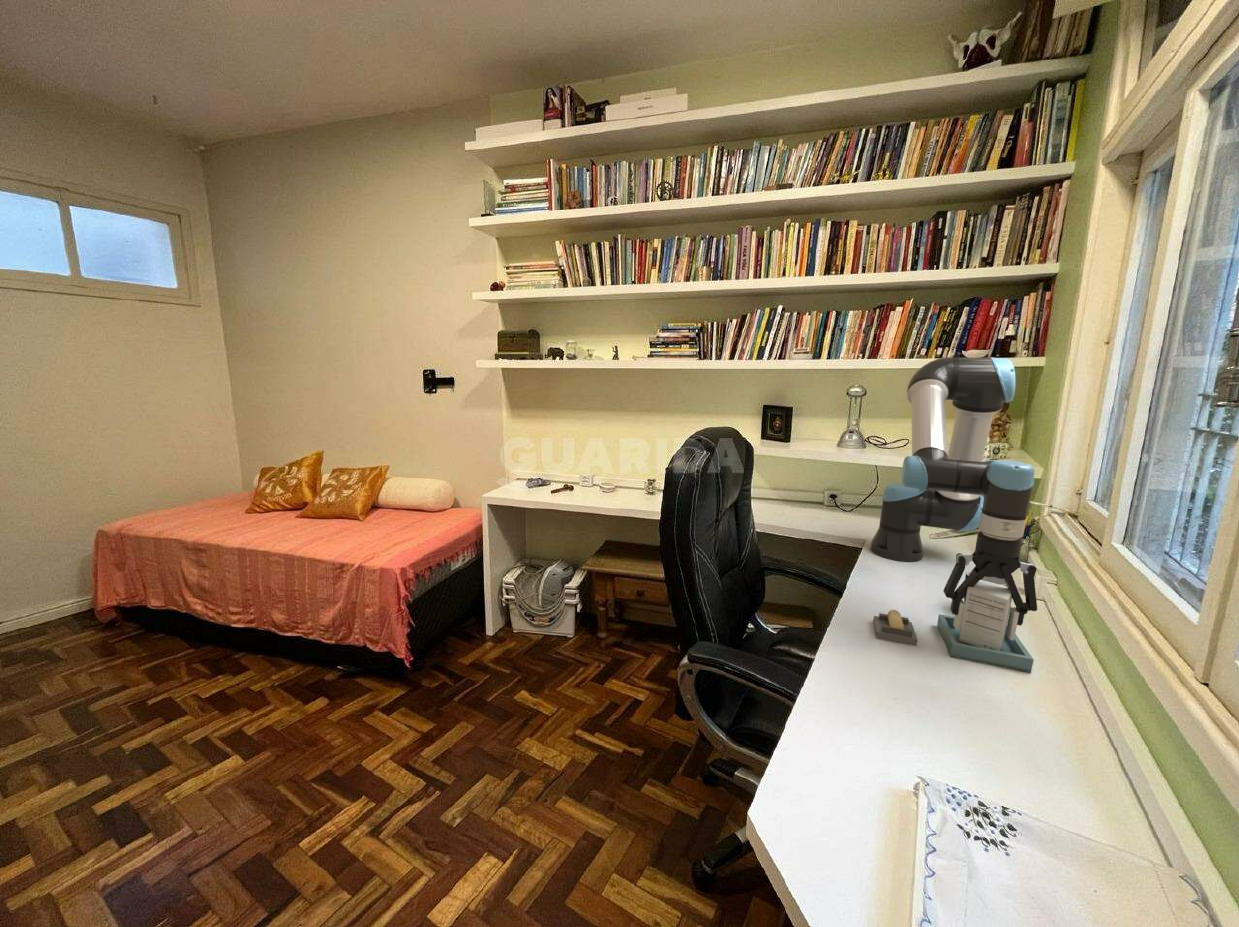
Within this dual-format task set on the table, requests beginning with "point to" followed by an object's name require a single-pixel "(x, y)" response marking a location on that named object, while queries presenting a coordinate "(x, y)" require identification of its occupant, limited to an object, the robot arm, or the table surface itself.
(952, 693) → the table surface
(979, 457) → the robot arm
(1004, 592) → the supplement box
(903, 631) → the fuse block
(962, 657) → the parts tray
